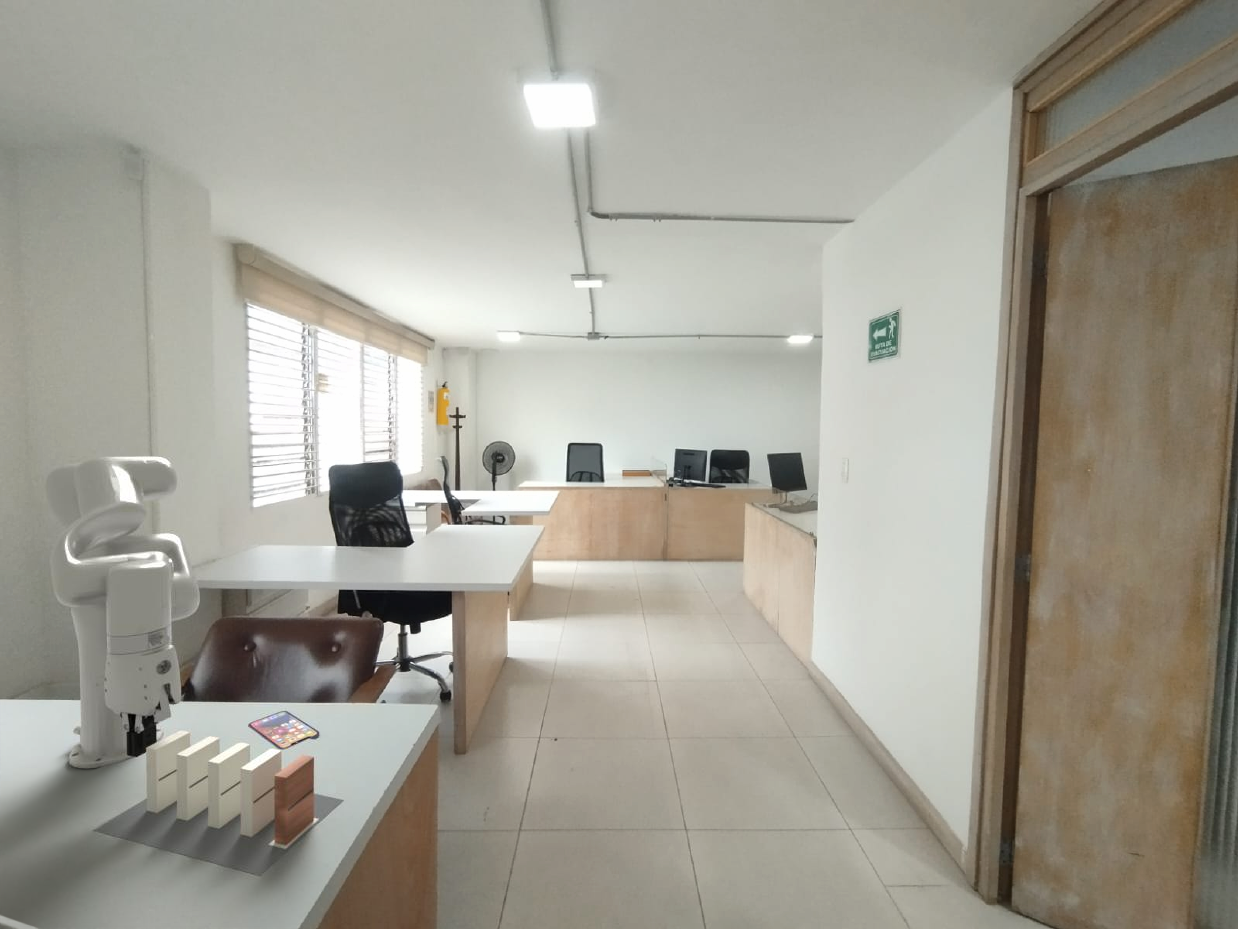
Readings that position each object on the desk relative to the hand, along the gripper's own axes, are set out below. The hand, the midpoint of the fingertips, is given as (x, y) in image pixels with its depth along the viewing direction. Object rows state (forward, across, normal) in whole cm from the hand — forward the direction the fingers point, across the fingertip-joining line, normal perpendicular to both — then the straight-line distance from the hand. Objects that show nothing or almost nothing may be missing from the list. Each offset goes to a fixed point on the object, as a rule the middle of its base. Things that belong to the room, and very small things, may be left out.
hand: (142, 751), depth 83 cm
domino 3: (+7, -17, 0) cm, 19 cm away
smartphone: (+8, -5, -22) cm, 24 cm away
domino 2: (+7, -11, 0) cm, 14 cm away
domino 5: (+7, -29, 0) cm, 30 cm away
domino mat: (+8, -16, 0) cm, 18 cm away
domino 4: (+7, -23, 0) cm, 25 cm away
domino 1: (+7, -5, 0) cm, 9 cm away
